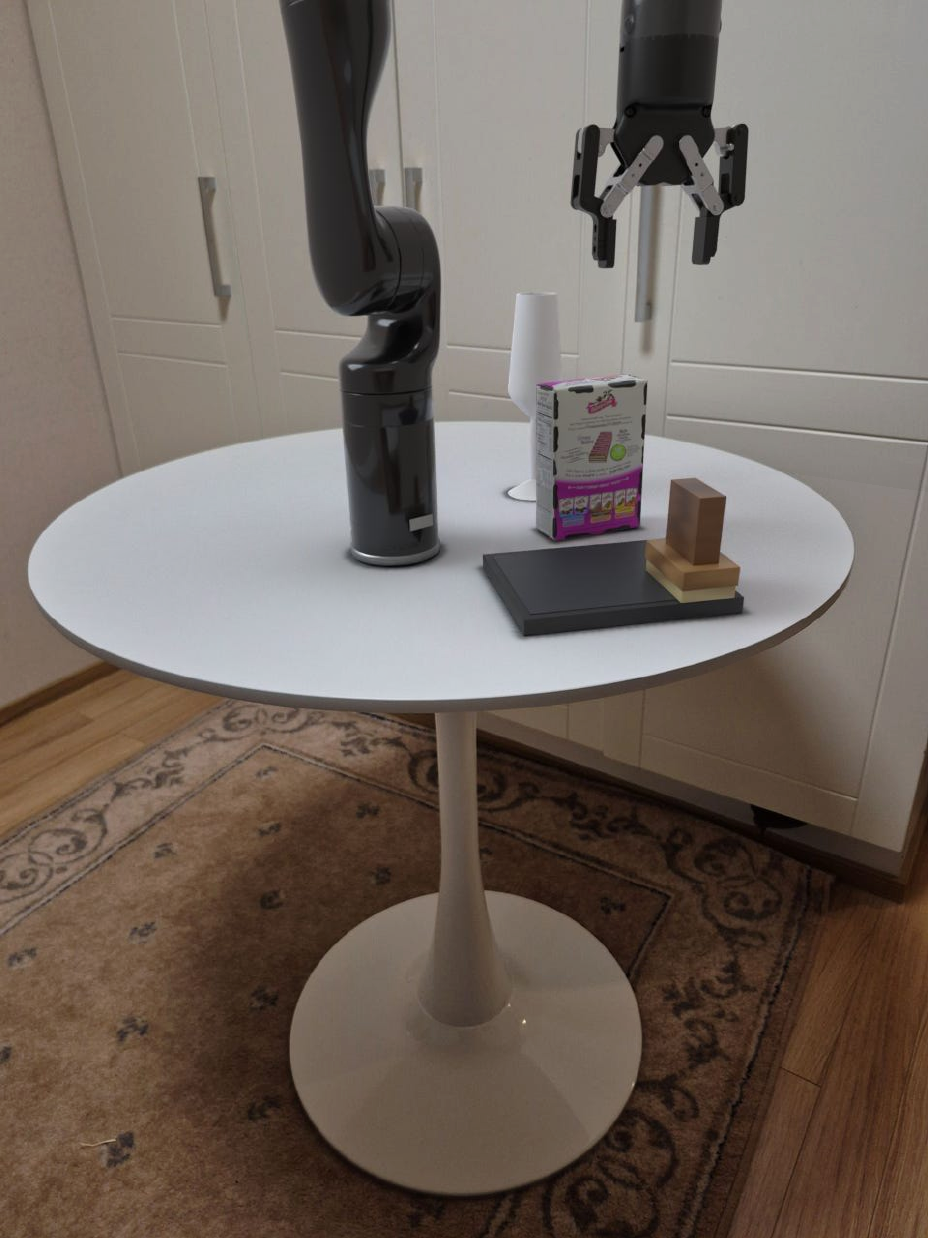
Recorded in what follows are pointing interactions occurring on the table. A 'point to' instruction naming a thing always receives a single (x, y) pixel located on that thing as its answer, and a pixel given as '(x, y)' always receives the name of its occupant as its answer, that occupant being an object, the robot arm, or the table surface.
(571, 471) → the candy bar box
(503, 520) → the table surface
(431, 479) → the robot arm
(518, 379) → the champagne flute
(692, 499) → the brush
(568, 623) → the panel
